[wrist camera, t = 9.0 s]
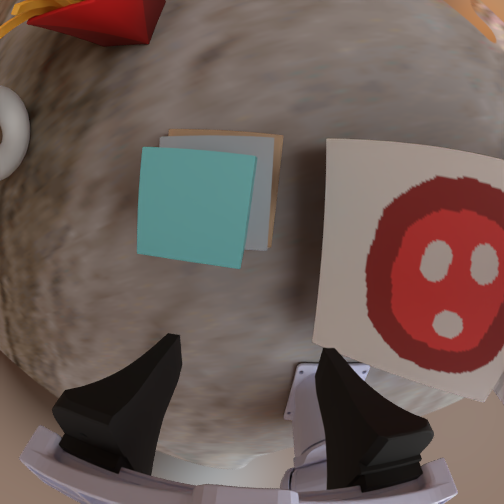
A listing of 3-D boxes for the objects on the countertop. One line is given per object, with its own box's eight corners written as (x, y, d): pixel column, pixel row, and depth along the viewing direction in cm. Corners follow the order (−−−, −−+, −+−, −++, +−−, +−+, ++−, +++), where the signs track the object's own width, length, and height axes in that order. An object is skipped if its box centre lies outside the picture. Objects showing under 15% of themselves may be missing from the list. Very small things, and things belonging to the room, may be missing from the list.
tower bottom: (270, 238, 22) (271, 247, 20) (174, 228, 22) (164, 237, 20) (281, 138, 20) (283, 135, 17) (179, 132, 20) (169, 129, 17)
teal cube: (246, 238, 17) (240, 268, 12) (169, 228, 17) (137, 253, 12) (257, 158, 16) (255, 155, 11) (175, 150, 16) (142, 146, 11)
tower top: (266, 239, 20) (267, 250, 17) (171, 234, 20) (160, 244, 18) (272, 140, 18) (274, 137, 15) (172, 139, 18) (159, 136, 15)
